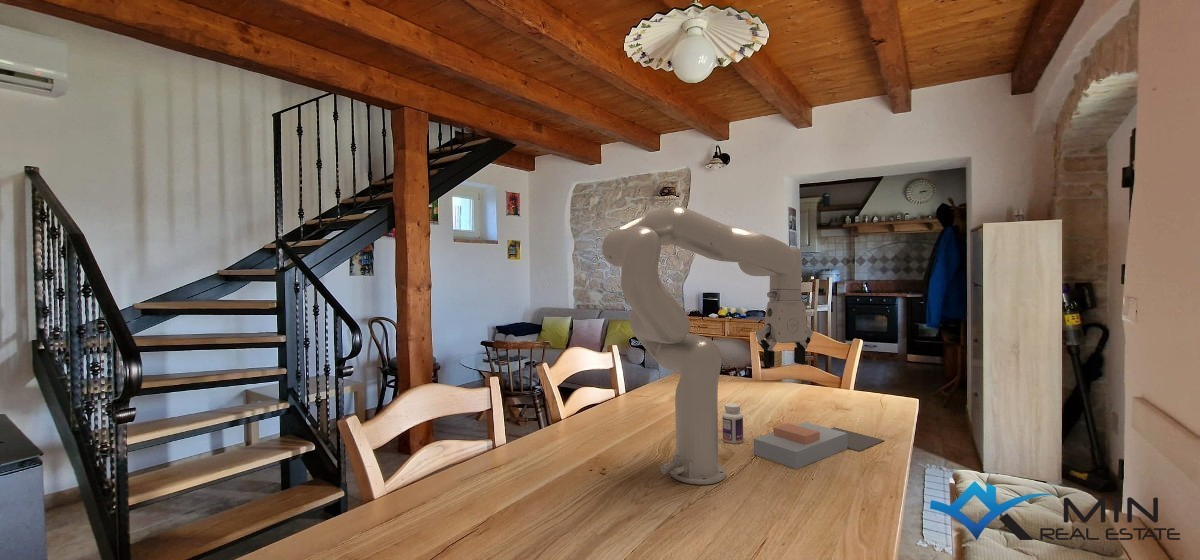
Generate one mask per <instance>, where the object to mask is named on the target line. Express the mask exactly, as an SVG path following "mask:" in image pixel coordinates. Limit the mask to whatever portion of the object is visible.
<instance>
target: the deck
mask: <svg viewBox="0 0 1200 560" xmlns="http://www.w3.org/2000/svg"><path fill="white" fill-rule="evenodd" d="M796 425H797V426H801V427H804V428H808V429H812V430H815V431H819V432H820V440H817V441H815V442H812V443H809V444H806V445H804V444H801V443H798V442H794V441H791V440H788V439H784V438H781V437H778V436H774V431H773V432H770V433H767V434H763V435H761V436H757V437H754V438H753V455H754V456H758V457H760V458H763V459H766V460H769V461H772V462H774V463H778V464H779V465H782V466H785V467H789V468H791V469H795V470H797V469H800V468H802V467H805V466H808V465H810V464H811V465H812V464H813V463H815V462H817V461H820V460H823V459H825V458H828V457H831V456H833V455H836V454H838V453H841V452H842V451H845V450H848V449H847V433H845V432H841V431H837V430H833V429H831V428H829V427H825V426H821V425H817V424H815V423H809V422H807V421H806V422H805V421H804V422H801V423H798V424H796Z"/></svg>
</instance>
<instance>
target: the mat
mask: <svg viewBox="0 0 1200 560" xmlns="http://www.w3.org/2000/svg"><path fill="white" fill-rule="evenodd" d="M830 429H833V430H837V431H841V432H845V433H847V449H846V450H852V451H855V452H858V453H860V452H862V451H864V450H867V449H870V448H872V447H874V446H876V445H879V444H883V443H884V442H885V440H886V439H881V438H878V437H874V436H870V435H867V434H863V433H858V432H855V431H850V430H847V429H842V428H839V427H835V426H834V427H832V428H830Z"/></svg>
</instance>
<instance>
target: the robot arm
mask: <svg viewBox="0 0 1200 560" xmlns="http://www.w3.org/2000/svg"><path fill="white" fill-rule="evenodd" d="M668 245H669V246H670V245H672V246H673V245H674V246H676V247H679V248H682V249H684V250H687V251H689V252H692V253H694V254H697V255H700V256H701V257H704V258H706V259H710V260H714V261H718V262H724V263H725V262H727V263H737V264H738V266H739V269H740V271H742V273H744V274H746V275H747V276H752V277H769V291H768V292H767V293H766V296H767V298H769V301H767V305H766V308H765V309H766V310H765V315H764V316H765V317H764V326H763V327H762V328H760V329H759V330H757V331H756V332H755V334H754V335H755V338H756V340H757V343H758V344H759V346H760V348H761V349H762V350H763V365H764V366H766V367H769V368H774V367H775V356H776V355H775V353H776V352H775V350H774V348H775V347H776V345H777V344H790V343H791V344H793V343H794V345H795V346H794V348H793V363H795V364H798V365H802V366H805V365H806V349H808V348H809V346H808V345H809V343H810V342H811V341H812V340H811V339H812V336H813V334H814V330H813V329H811V328H810V327H808V322H807V321H808V320H807V319H808V318H807V313H806V312H807V311H806V306H805V303H804V302H803V301H802V284H803V283H802V279H803V278H802V275H803V274H802V271H803V269H802V266H803V263H802V262H803V254H802V253H803V252H802V250H801V249H800V248H799V247H797V246H789V245H788V244H787V243H785V242H784V241H782V240H779V239H777V238H774V237H772V236H770V235H766V234H763V233H759V232H755V231H751V230H749V229H743V228H740V227H735V226H731V225H727V224H724V223H722V222H720V221H717V220H715V219H713V218H710V217H708V216H706V215H704V214H701V213H700V212H696V211H694V210H691V209H689V208H686V207H685V206H678V205H675V206H674V205H673V206H668V207H665V208H658V209H655V210H652V211H650V212H648V213H646V214H644V215H641V216H639V217H638V218H635V219H634V220H632V221H629V222H627V223H626V224H624V225H621V226H619V227H617V228H615V229H613V230H612V231H610V232H609V233H608V234H607V235H606V236H605V237H604V239H603V241H602V246H601V250H602V255H603V257H604V259H605V260H606V262H608V263H609V264H611V265H612V266H614V267H619V268H621V271H620V272H621V274H620V283H621V284H620V285H621V291H622V294H623V297H624V299H625V300H626V302H627V303H628V304H629V306H630V308H631V311H630V313H629V319H628V320H629V326H630V330H631V332H632V333H633V335H634V336H635V338H636V339H637V340H638V342H639V343H640V344H641V345H642V346H643V347H644V349H645V350H646V352H648V354H650V356H651V357H652V358H653V359H654V361H656V363H658V364H659V366H661V367H662V368H664V369H665V370H667V371H670V372H674V373H677V374H680V376H679V380H678V382H677V386H676V388H675V395H674V407H675V409H674V410H675V414H674V415H675V416H674V417H675V419H674V420H675V454H673V455H672V460H671V461H670V462H667V463H663V464H660V466H659V469H660V472H661V474H664V475H665V474H667V473H669V475H670V476H671V477H672V478H673V479H674V480H677V481H679V482H682V483H685V484H691V485H712V484H717V483H719V482H721V481H722V480H724V479H725V477H726V475H727V474H726V469H725V467H724V466H723V465H722V464H720V463H719V412H718V411H719V406H718V404H719V403H718V401H719V400H718V398H719V397H718V396H719V395H718V392H719V391H718V390H719V378H720V373H721V367H722V361H723V358H722V353H721V350H720V347H719V346H718V344H717V343H716V342H715V341H713V340H712V339H710V338H709V337H705V336H703V335H697V334H694V333H693V334H692V333H690V331H691V322H690V318H689V317H688V315H687V313H686V312H685V310H684V309H683V308H682V306H681V305H680V304H679V303H678V302H677V300H676V299H675V298H674V297H673V296H672V294H671V293H670V291H669V290H668V289H667V287H666V286H665V285H664V283H663V282H662V280H661V277H660V275H659V263H660V258H661V251H662V246H668Z"/></svg>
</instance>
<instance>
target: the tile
mask: <svg viewBox="0 0 1200 560" xmlns="http://www.w3.org/2000/svg"><path fill="white" fill-rule="evenodd" d="M797 425H798V424H793V423H789V422H787V423H783V424H781V425H777V426H774V427H773V432H774V436H778V437H781V438H784V439H788V440H791V441H794V442H798V443H801V444H804V445H806V444H809V443H812V442H815V441H817V440H820V432H819V431H815V430H812V429H808V428H804V427H801V426H797Z"/></svg>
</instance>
